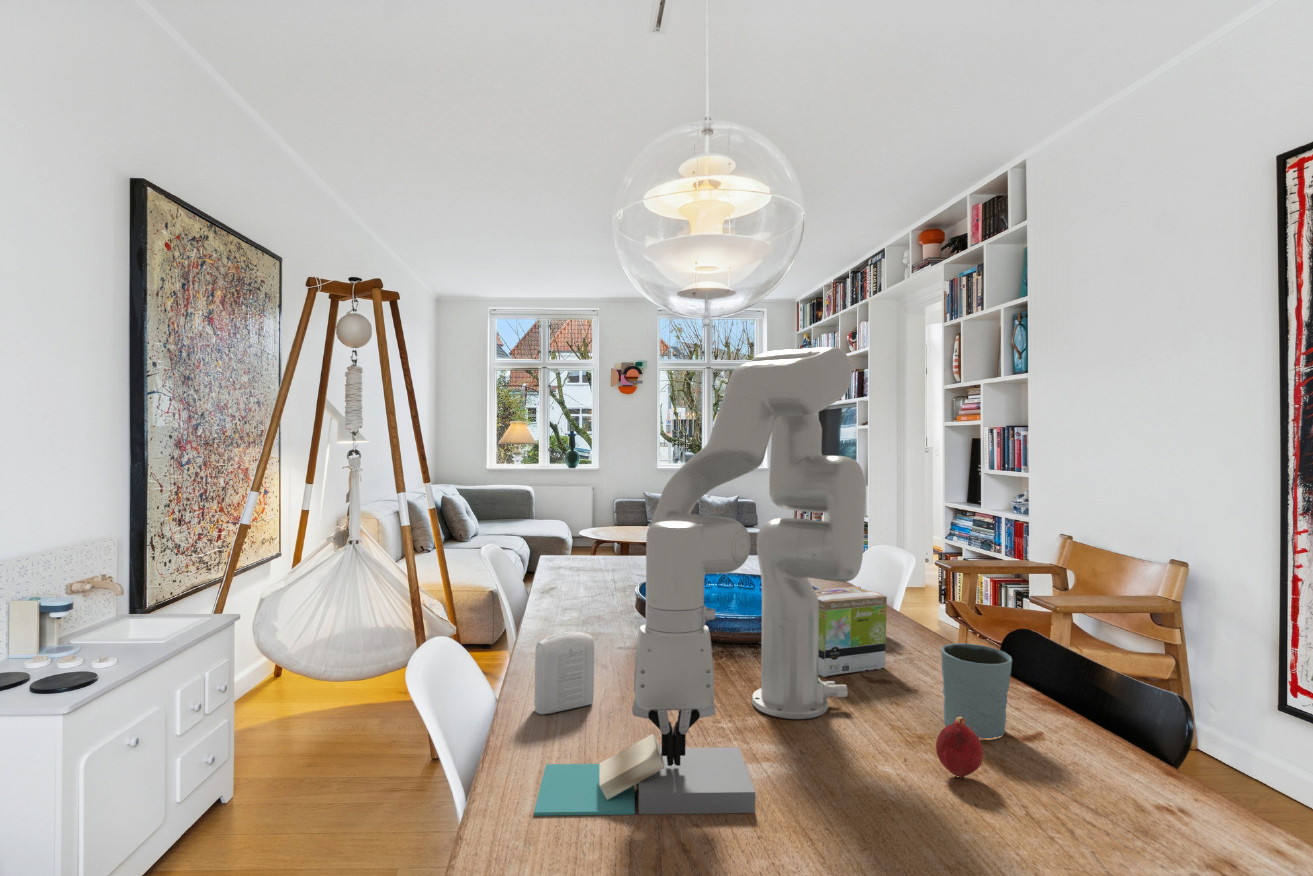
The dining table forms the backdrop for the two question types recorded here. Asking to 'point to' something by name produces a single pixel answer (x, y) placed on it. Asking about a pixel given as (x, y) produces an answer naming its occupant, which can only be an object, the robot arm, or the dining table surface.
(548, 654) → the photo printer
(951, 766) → the onion
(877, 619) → the tea box
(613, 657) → the dining table surface
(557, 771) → the teal mat
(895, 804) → the dining table surface
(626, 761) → the birch tile
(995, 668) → the blue ceramic planter
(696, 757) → the grey flat slab
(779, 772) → the dining table surface
